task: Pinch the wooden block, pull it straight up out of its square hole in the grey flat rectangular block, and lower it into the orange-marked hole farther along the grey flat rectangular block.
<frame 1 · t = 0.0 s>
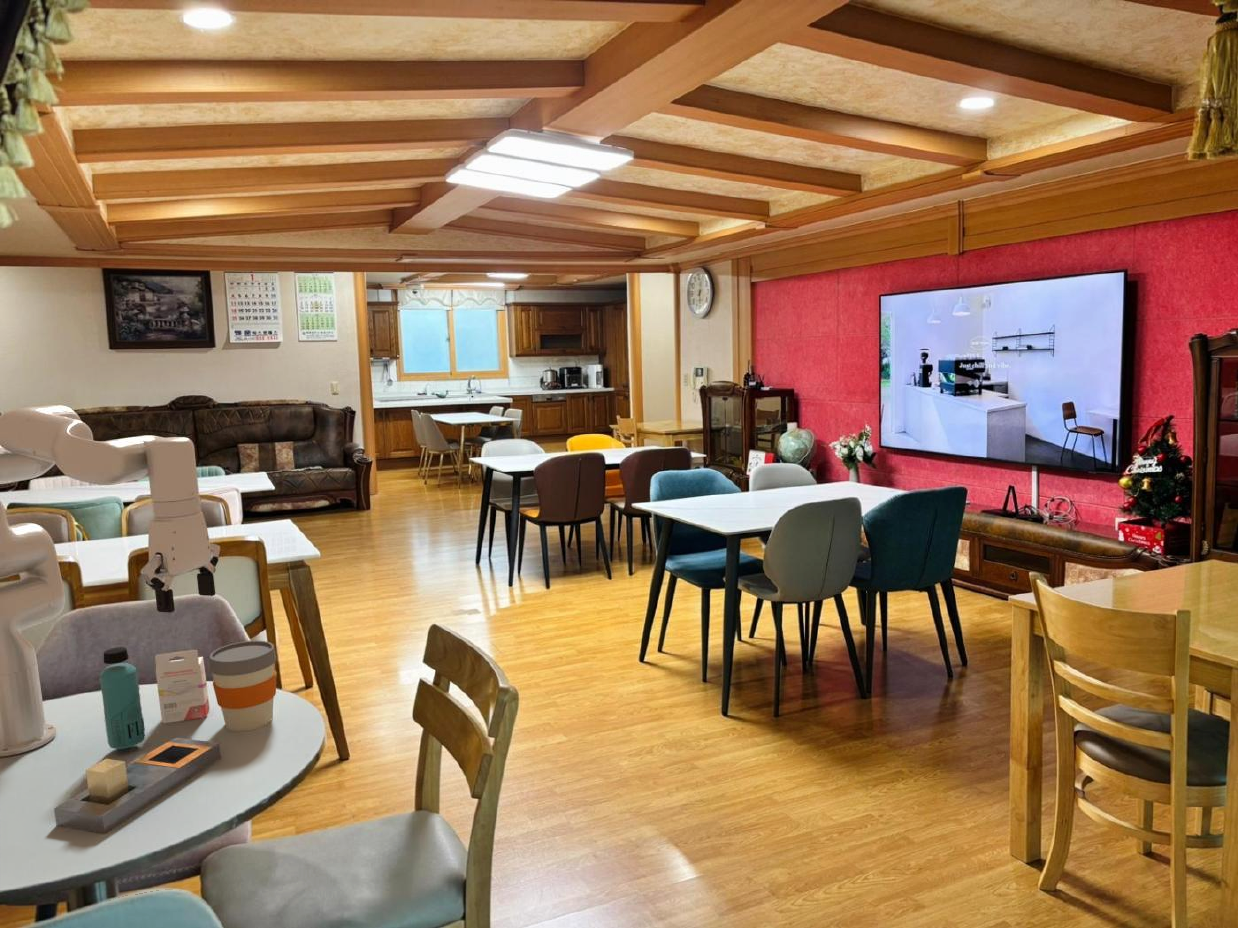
hand: (187, 603, 158), 31 cm above the table, tool pointing down, fingers open, 9 cm apart
beverage bottle: (127, 749, 172), on the table
wooden block: (111, 810, 149), resting in grey flat rectangular block
grey flat rectangular block: (144, 789, 156), on the table
reusable coffee cup: (249, 721, 183), on the table
ink cartridge box: (186, 717, 186), on the table
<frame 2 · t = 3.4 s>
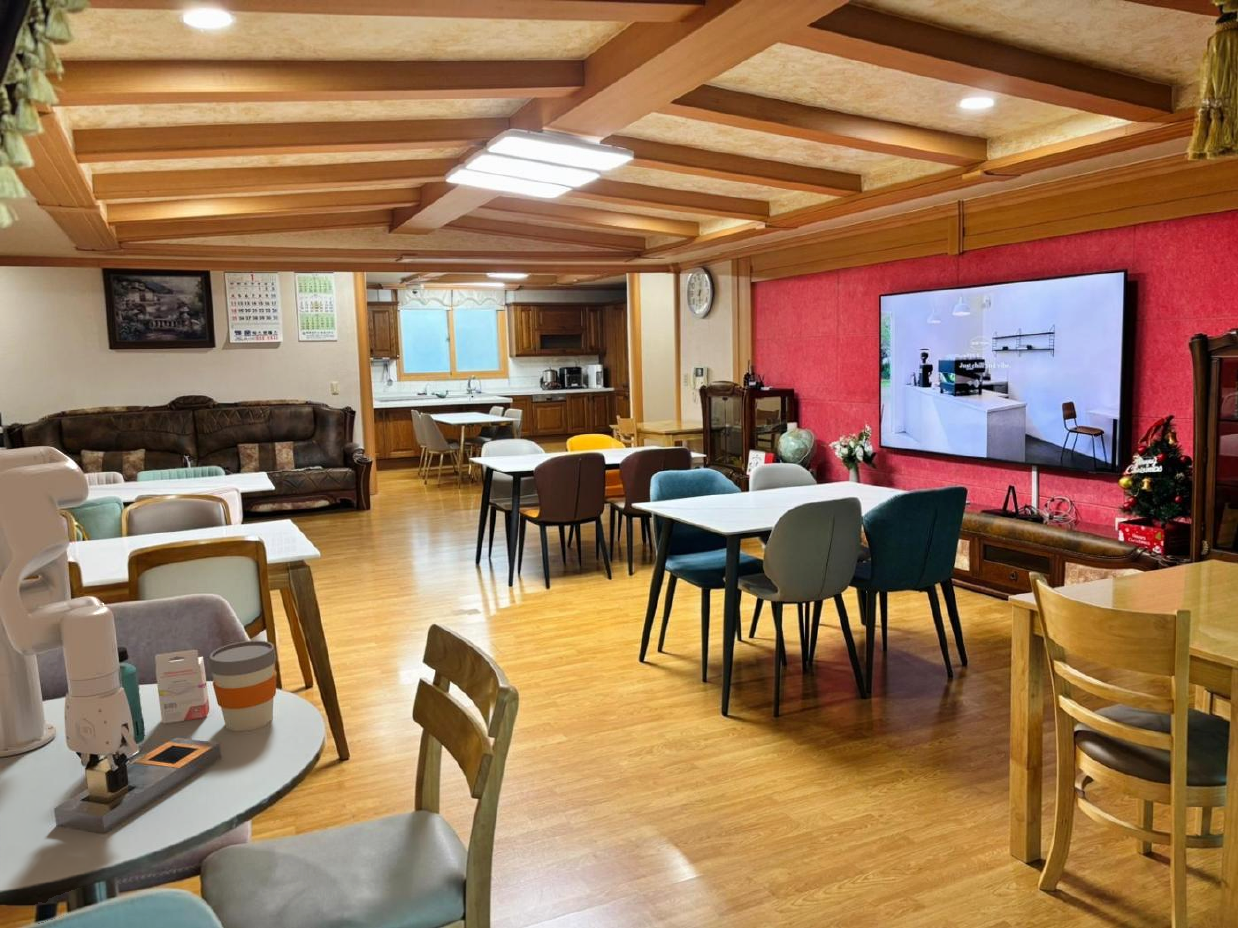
hand: (108, 786, 149), 4 cm above the table, tool pointing down, fingers closed on wooden block, 4 cm apart
wooden block: (111, 810, 149), resting in grey flat rectangular block, touching gripper
everything else where it was.
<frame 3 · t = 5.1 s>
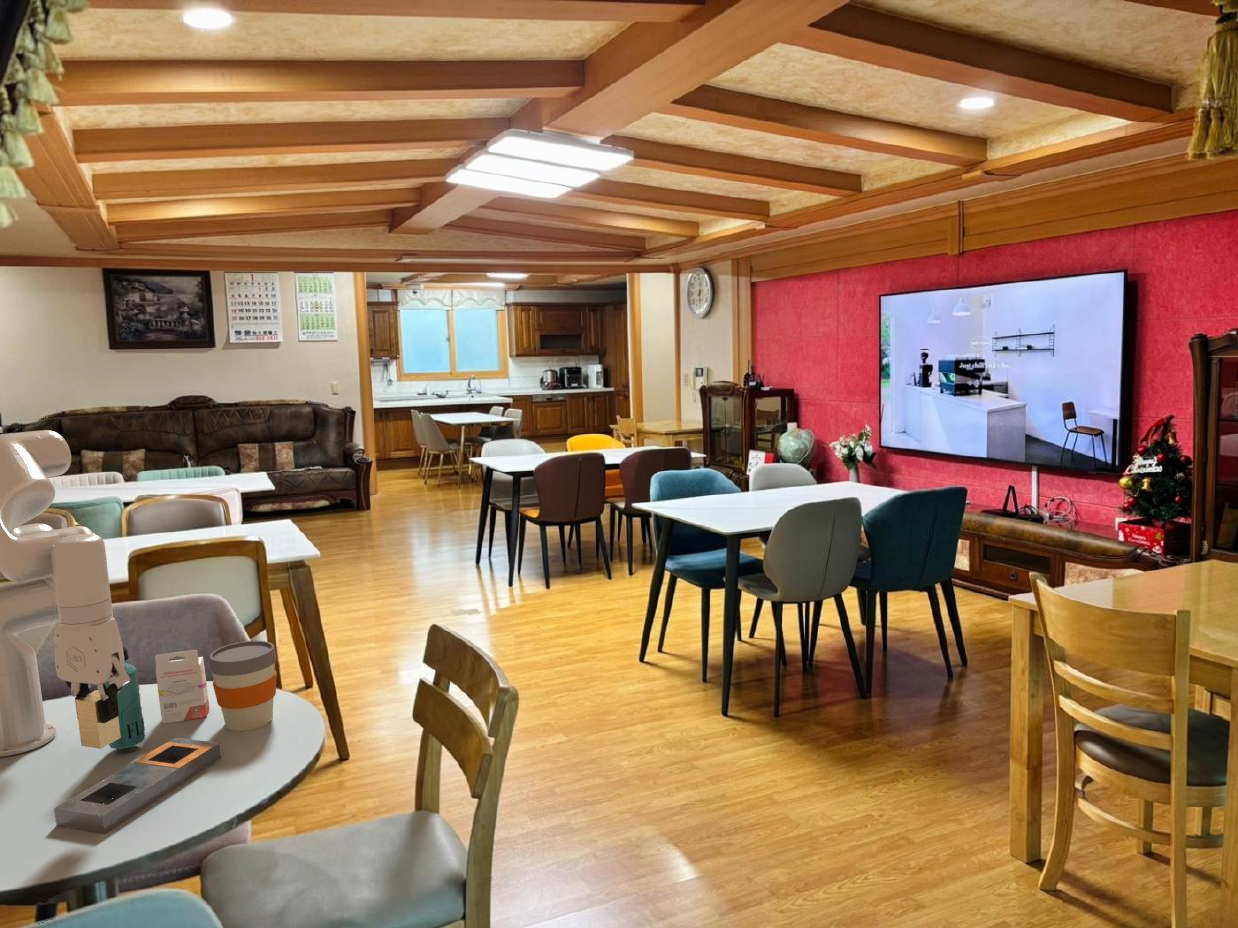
hand: (98, 716, 147), 16 cm above the table, tool pointing down, fingers closed on wooden block, 4 cm apart
wooden block: (101, 741, 148), point 12 cm above the table, touching gripper
everything else where it was.
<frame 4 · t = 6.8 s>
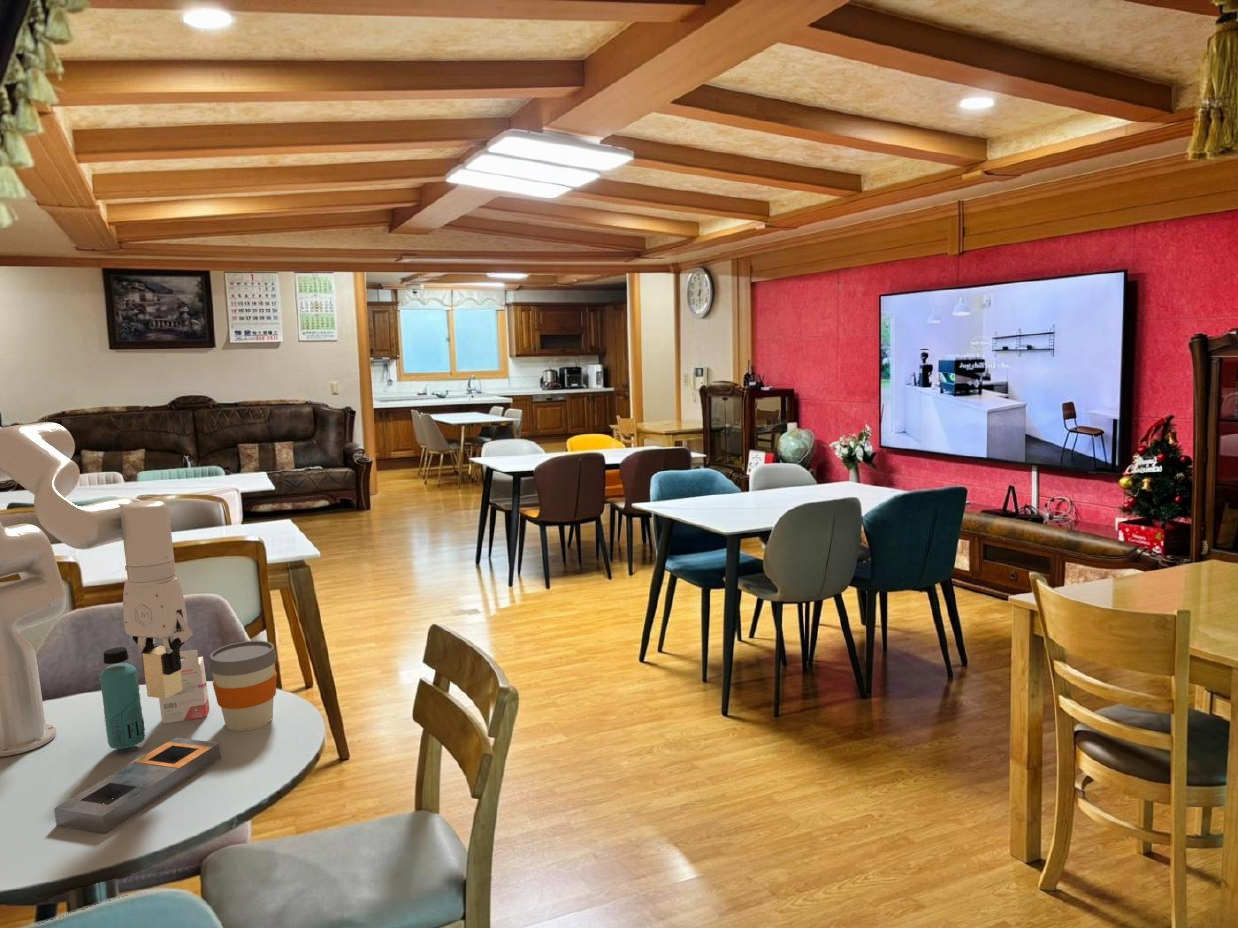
hand: (162, 670, 160), 19 cm above the table, tool pointing down, fingers closed on wooden block, 4 cm apart
wooden block: (165, 693, 160), point 15 cm above the table, touching gripper
everything else where it was.
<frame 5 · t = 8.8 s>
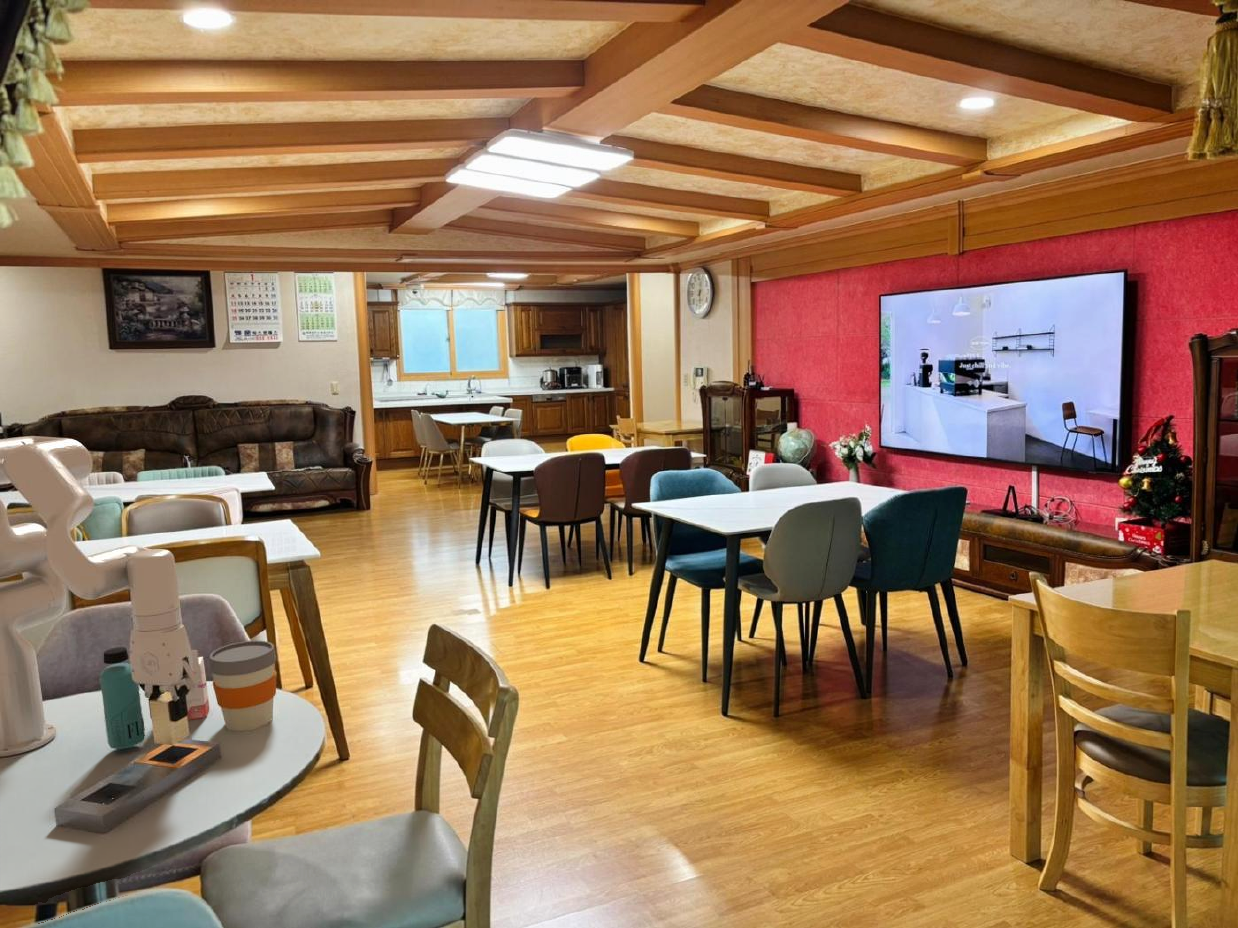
hand: (169, 716, 161), 10 cm above the table, tool pointing down, fingers closed on wooden block, 4 cm apart
wooden block: (172, 739, 162), point 6 cm above the table, touching gripper
everything else where it was.
when the fingers open (6 cm above the table, at t = 10.6 s): wooden block drops 2 cm, resting in grey flat rectangular block.
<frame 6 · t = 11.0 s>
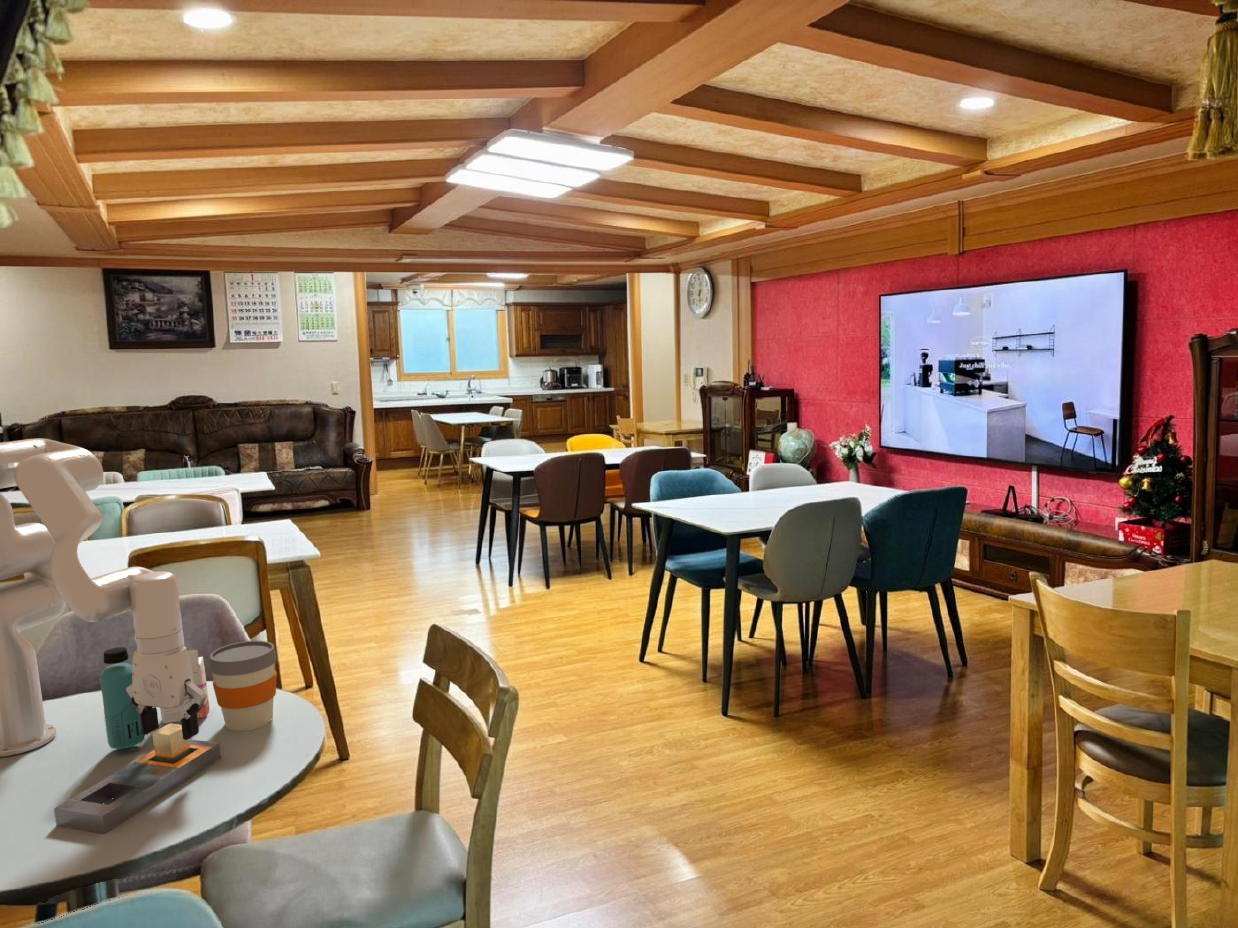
hand: (170, 733, 162), 7 cm above the table, tool pointing down, fingers open, 8 cm apart
wooden block: (174, 770, 163), resting in grey flat rectangular block
everything else where it was.
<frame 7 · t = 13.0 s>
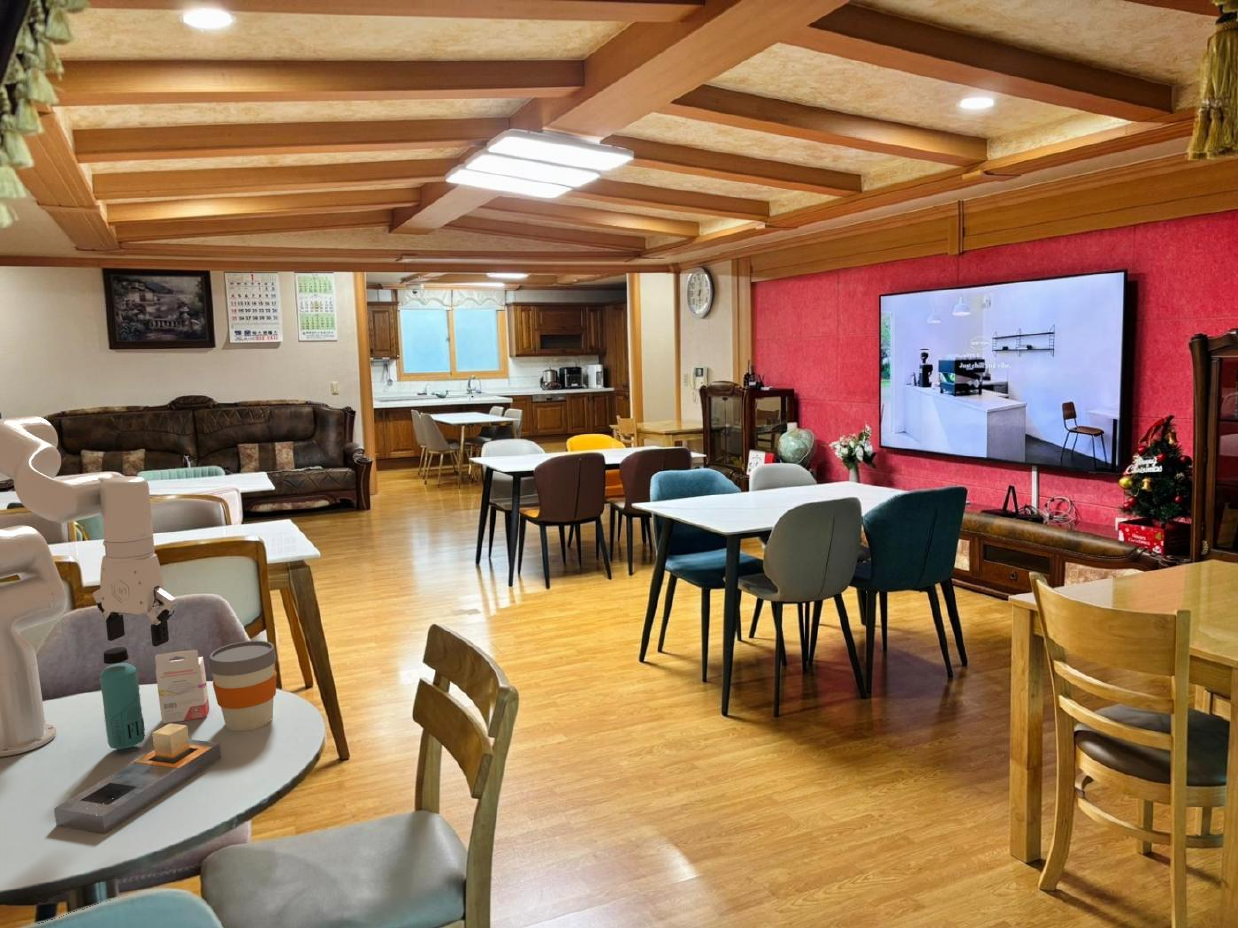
hand: (138, 640, 159), 25 cm above the table, tool pointing down, fingers open, 9 cm apart
nothing on the table moved.
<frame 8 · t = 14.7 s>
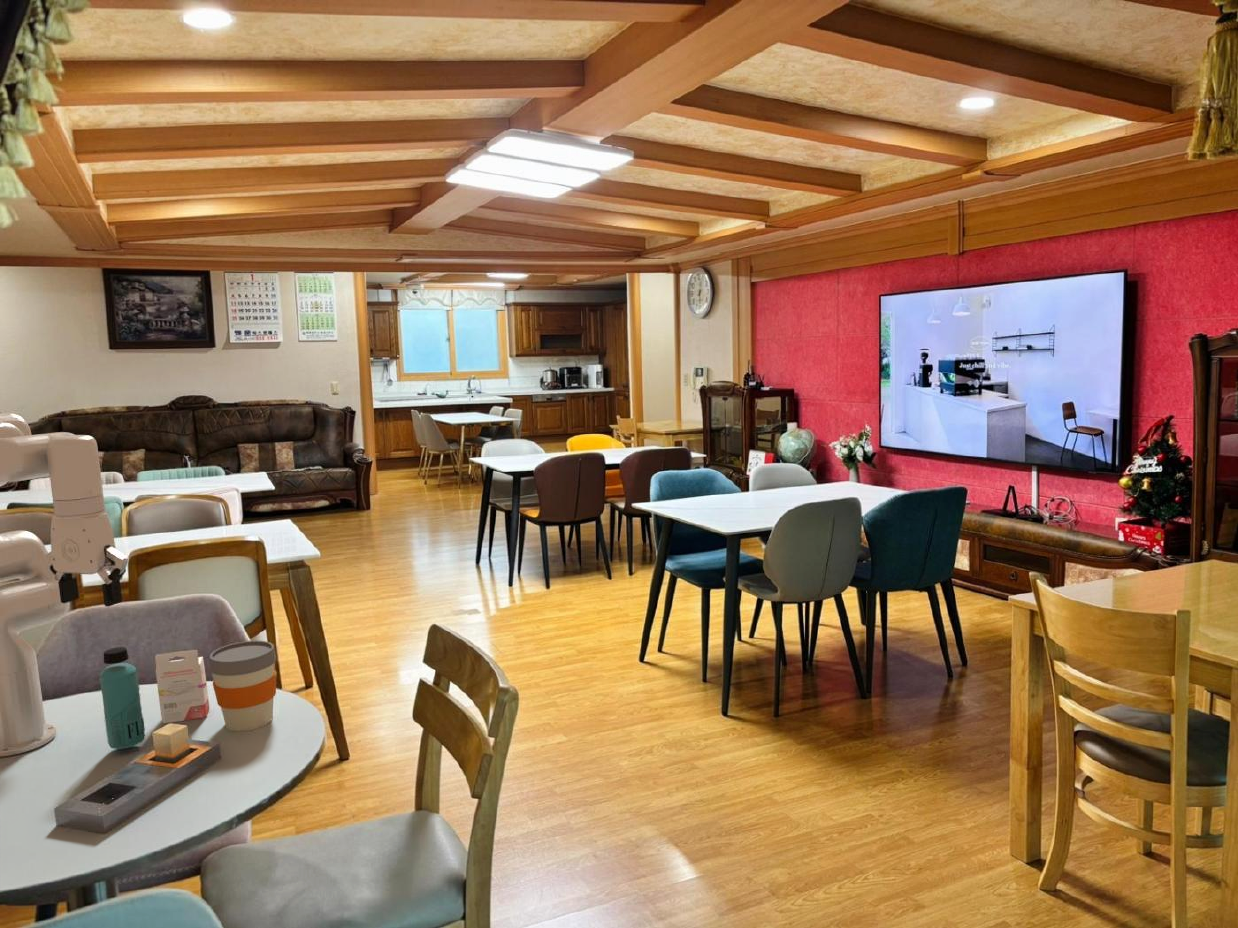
hand: (91, 602, 157), 32 cm above the table, tool pointing down, fingers open, 9 cm apart
nothing on the table moved.
at the end: wooden block 0.1 cm from the target spot, resting in grey flat rectangular block; wooden block tilted 0°; the gripper is holding nothing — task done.
